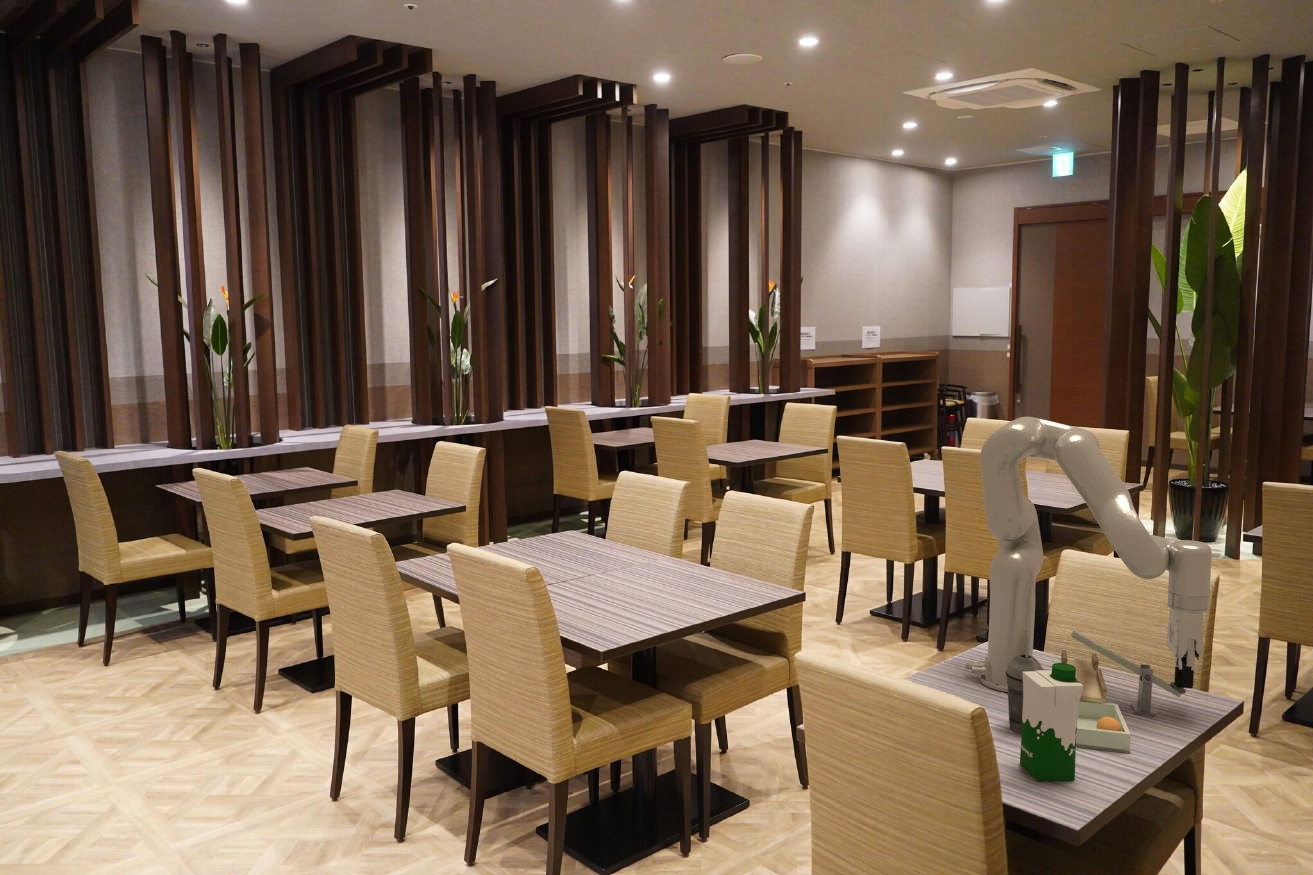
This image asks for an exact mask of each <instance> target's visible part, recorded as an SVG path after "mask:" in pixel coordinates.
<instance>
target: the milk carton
mask: <svg viewBox="0 0 1313 875" xmlns="http://www.w3.org/2000/svg"><path fill="white" fill-rule="evenodd" d="M1075 677H1076V668H1075V667H1074V666H1073V665H1070V664H1066V663H1061V662H1056V663H1053V664H1052V666H1051V670H1047V669H1046V670H1043V671H1042V670H1036V671H1028V672H1023V713H1022V732H1021V736H1020V752H1019V753H1020V757H1019V765H1020V766H1021V767H1022V768H1023V769H1024V771H1026V772H1027V773H1028V775H1030V776H1031V777H1032V778H1033V779H1034V780H1035V781H1036V782H1039V783H1040V782H1058V781H1059V782H1062V781H1063V782H1064V781H1065V782H1066V781H1075V780H1076V760H1077V759H1076V756H1077V755H1076V754H1077V751H1076V750H1077V747H1076V738H1077V722H1078V707H1079V701H1080V697H1081V694H1082V690H1083V685H1082V684H1081V683H1080V682H1079V681H1077V679H1076V678H1075Z"/></svg>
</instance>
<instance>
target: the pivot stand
mask: <svg viewBox="0 0 1313 875" xmlns="http://www.w3.org/2000/svg"><path fill="white" fill-rule="evenodd" d="M1139 667H1140V668H1142V669H1143V674H1142V676H1140V675H1138V690H1137V702H1132V701H1131V702H1130V707H1131V709H1132V710H1133V712H1134V714H1135V715H1138V716H1146V715H1147V716H1148V717H1155V718H1156V717H1157V713H1156V711H1155V710H1156V709H1155V708H1154V706H1153V704H1152V692H1153V690H1152V689H1153V683H1152V676H1153V675H1154V670H1153V669H1151V665H1150V664H1148V663H1147V664H1145V663H1140V665H1139ZM1147 716H1146V717H1147Z"/></svg>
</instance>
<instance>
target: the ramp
mask: <svg viewBox="0 0 1313 875" xmlns="http://www.w3.org/2000/svg"><path fill="white" fill-rule="evenodd" d="M1060 663H1066V664H1070V665H1073V666H1074V667H1075V668H1076V677H1075V678H1076V679H1077V681H1079V682H1080V683H1081V684H1082V685H1083V690H1082V694H1081V697H1080V700H1082V701H1091V702H1100V703H1107V694H1108V689H1107V685H1106V682H1105V679H1104V678H1105V677H1104V675H1103V672H1102V669H1101V668H1099V663H1100V660H1099V657H1098V655H1097V653H1096V652H1095V653H1094V652H1093V653H1091V660H1089V661H1088V660H1080V659H1070V658H1068V655H1067V650H1061V657H1060Z"/></svg>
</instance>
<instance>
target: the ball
mask: <svg viewBox="0 0 1313 875" xmlns="http://www.w3.org/2000/svg"><path fill="white" fill-rule="evenodd" d="M1096 728H1097V729H1102V730H1111V731H1119V732H1121V726H1120V724H1119V722H1118V721H1117V720H1116V719H1114V718H1112V717H1103V718H1101V719H1100V720H1099V721H1098V722H1097V726H1096Z"/></svg>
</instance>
